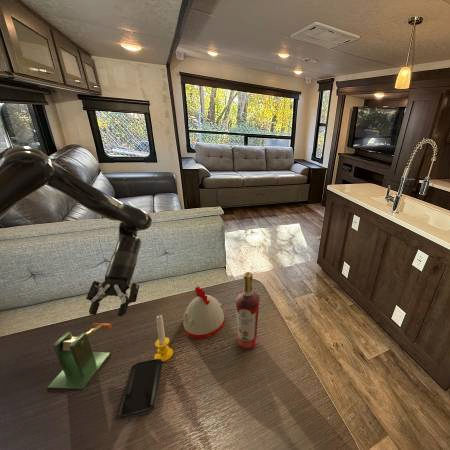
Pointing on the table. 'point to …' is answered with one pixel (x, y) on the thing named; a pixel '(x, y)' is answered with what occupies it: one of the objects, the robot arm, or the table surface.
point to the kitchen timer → (203, 316)
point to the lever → (95, 327)
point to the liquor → (247, 314)
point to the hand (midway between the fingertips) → (106, 315)
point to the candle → (162, 342)
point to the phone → (141, 389)
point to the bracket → (76, 363)
